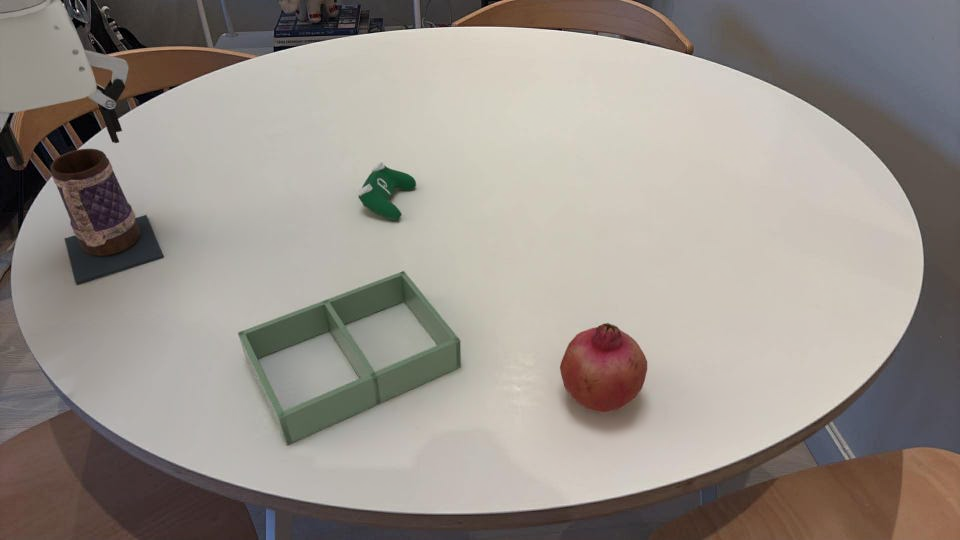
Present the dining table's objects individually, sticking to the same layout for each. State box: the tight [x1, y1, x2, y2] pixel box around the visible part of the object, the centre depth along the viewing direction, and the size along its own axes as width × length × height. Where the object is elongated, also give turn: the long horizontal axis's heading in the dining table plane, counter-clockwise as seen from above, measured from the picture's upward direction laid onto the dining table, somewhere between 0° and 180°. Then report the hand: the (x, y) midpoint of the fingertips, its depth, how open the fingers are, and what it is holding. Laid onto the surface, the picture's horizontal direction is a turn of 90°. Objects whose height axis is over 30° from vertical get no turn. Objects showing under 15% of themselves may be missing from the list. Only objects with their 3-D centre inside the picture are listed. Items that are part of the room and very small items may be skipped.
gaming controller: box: [358, 162, 417, 221], centre depth 95 cm, size 9×4×6 cm
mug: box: [49, 148, 140, 256], centre depth 83 cm, size 10×7×12 cm
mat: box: [64, 214, 165, 285], centre depth 88 cm, size 10×10×1 cm
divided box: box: [237, 270, 462, 446], centre depth 72 cm, size 19×13×4 cm
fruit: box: [559, 322, 648, 414], centre depth 66 cm, size 8×8×10 cm
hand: (68, 149), depth 78 cm, fingers open, 9 cm apart
